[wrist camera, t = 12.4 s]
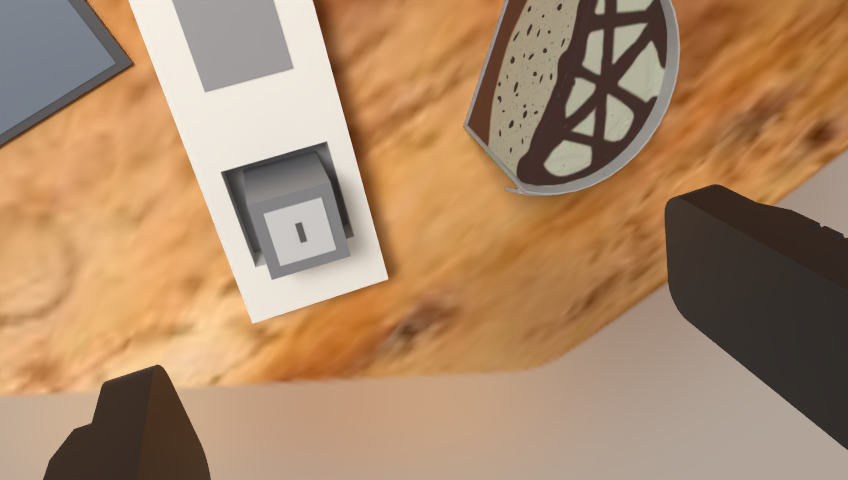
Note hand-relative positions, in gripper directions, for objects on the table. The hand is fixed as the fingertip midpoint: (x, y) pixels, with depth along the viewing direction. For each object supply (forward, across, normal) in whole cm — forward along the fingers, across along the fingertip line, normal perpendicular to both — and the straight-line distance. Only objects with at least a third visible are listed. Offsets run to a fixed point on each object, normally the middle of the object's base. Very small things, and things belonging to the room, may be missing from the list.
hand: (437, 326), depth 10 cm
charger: (+28, +2, +7) cm, 29 cm away
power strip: (+29, +2, 0) cm, 29 cm away
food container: (+29, -14, +4) cm, 33 cm away
